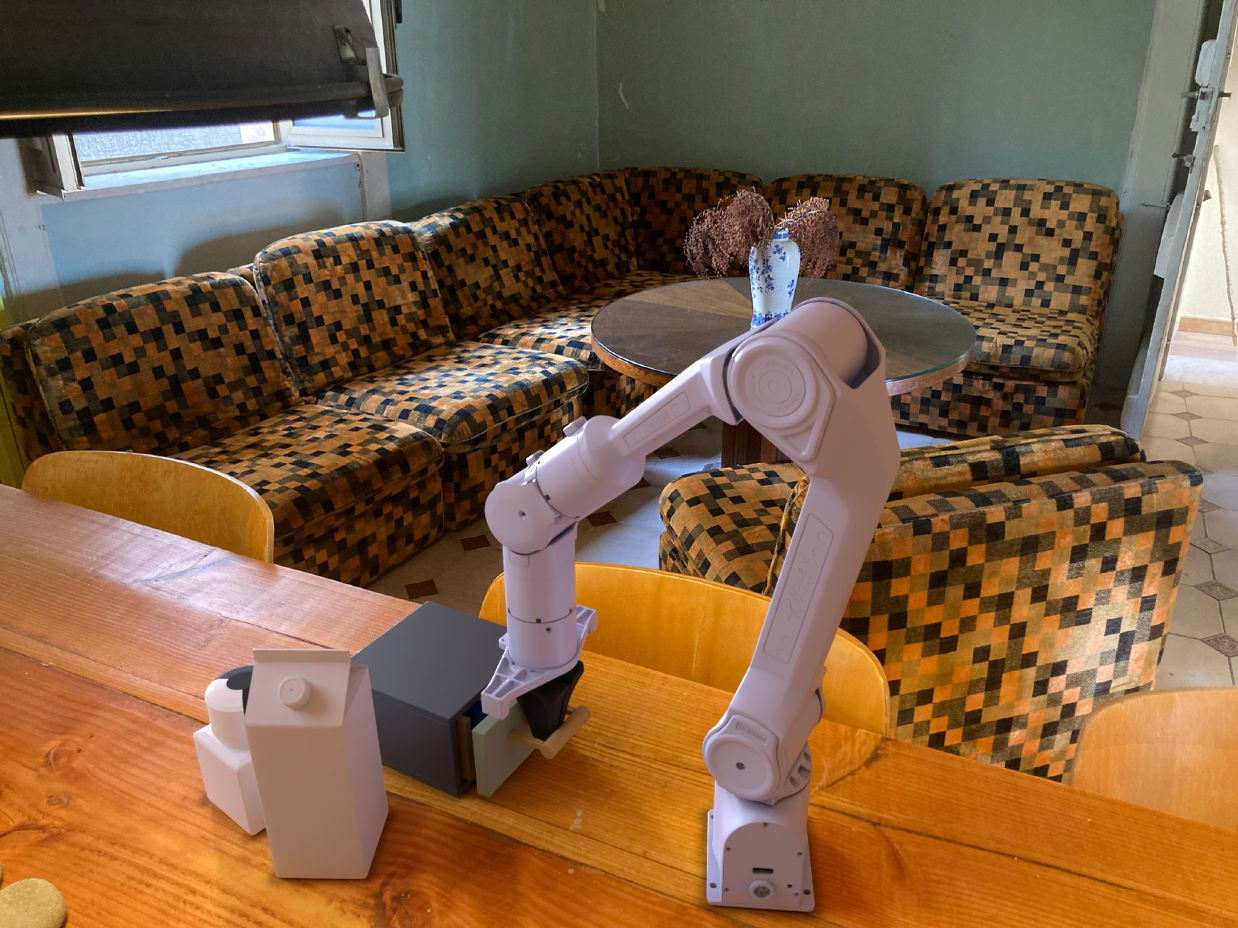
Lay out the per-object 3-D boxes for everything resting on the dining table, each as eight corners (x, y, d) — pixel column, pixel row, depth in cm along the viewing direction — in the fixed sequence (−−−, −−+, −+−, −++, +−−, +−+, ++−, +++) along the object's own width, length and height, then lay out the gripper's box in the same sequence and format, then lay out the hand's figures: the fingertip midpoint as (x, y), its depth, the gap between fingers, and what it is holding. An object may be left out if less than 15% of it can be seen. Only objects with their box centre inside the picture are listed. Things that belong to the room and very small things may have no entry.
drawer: (609, 731, 89) (608, 671, 86) (535, 817, 79) (531, 753, 77) (461, 677, 97) (456, 620, 94) (377, 749, 87) (369, 689, 84)
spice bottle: (511, 714, 90) (508, 672, 88) (501, 744, 86) (498, 701, 84) (466, 711, 90) (462, 670, 88) (455, 741, 86) (451, 699, 85)
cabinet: (544, 709, 93) (540, 637, 90) (457, 797, 83) (449, 719, 79) (435, 669, 99) (428, 600, 96) (342, 747, 89) (329, 671, 85)
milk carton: (305, 811, 82) (270, 621, 74) (389, 812, 81) (362, 622, 73) (276, 879, 75) (233, 678, 67) (366, 880, 75) (334, 679, 67)
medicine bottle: (279, 754, 88) (257, 644, 83) (326, 789, 84) (305, 676, 79) (206, 799, 83) (178, 684, 78) (252, 838, 79) (225, 720, 74)
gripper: (549, 552, 86) (553, 677, 92) (445, 634, 75) (457, 770, 80) (617, 573, 83) (617, 700, 89) (521, 661, 72) (528, 801, 77)
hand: (546, 735), depth 84 cm, fingers closed, pressing on drawer
